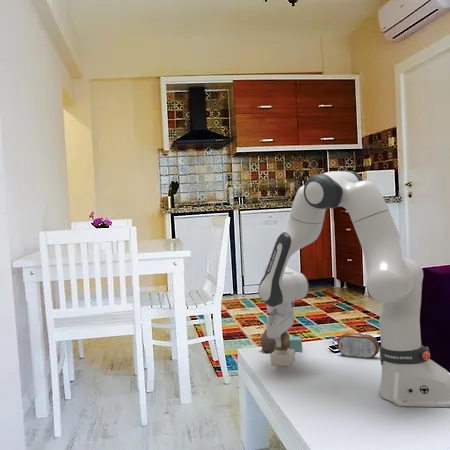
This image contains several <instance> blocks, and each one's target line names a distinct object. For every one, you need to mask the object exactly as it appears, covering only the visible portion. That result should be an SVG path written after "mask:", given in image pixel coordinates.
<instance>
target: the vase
mask: <svg viewBox="0 0 450 450" xmlns="http://www.w3.org/2000/svg"><path fill="white" fill-rule="evenodd" d="M259 342H260V346H261V349H262V351H264V352H265V353H272V352H274V351H275V350H274V340H273V339H272V338H268V337H267V328H265V329H264V332H263V333H262V335H261V337H260V341H259Z"/></svg>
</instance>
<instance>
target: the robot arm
mask: <svg viewBox="0 0 450 450" xmlns="http://www.w3.org/2000/svg"><path fill="white" fill-rule="evenodd" d="M339 207H341V208H344V209H345V210H346V211H347V212H348V216H350V217H349V218H350V220H351V222H352V225H353V227H354V230H355V233H356V235H357V238H358V240H359V243H360V246H361V250H362V253H363V258H364V264H365V269H366V274H367V278H366V289H367V292H368V294H369V295H370V297H371V298H372V299H374V300H375V301H376V302H379V303H382V306H381V313H380V316H379V321H378V323H379V334H380V335H379V336H380V344H379V346H380V349H379V359H380V365H381V378H380V385H379V390H378V395H379V396H380V397H381V398H382V399H385V400H386V401H390V402H391V403H393V404H395V405H396V406H398V407H419V408H420V407H421V408H422V407H425V408H426V407H429V408H431V407H432V408H433V407H434V408H441V407H443V408H450V372H449V371H448V370H447V369H446V368H444V367H443V366H441V365H440V364H438V363H437V362H435V361H434V360H432V359H430V358H431V352H430V349H429V347H428V346H424V345H423V344H422V340H421V339H422V337H421V323H420V322H421V321H420V319H421V307H422V306H421V305H422V291H423V279H424V270H423V268H422V265H420V263H418V262H417V261H416V260H415V259H411V258H406V257H403V255H402V250H401V249H402V248H401V244H400V236H401V235H400V233H399V231H398V228H397V225H396V223H395V221H394V220H395V219H394V218H393V216H392V213H391V211H390V208H389V207H388V205H387V202H386V200H385V198H384V196H383V194H382V193H381V191H380V189H379V188H378V187H377V185H376V184H375V183H374V182H373V181H370V180H364V179H363V177H362V176H361V175H360V173H357V172H355V171H353V170H347V169H346V170H341V171H340V170H337V171H336V170H335V171H334V170H333V171H327V172H324V173H323V172H322V173H318V174H314V175H313V176H311V177H310V178H308V179H307V181H306V182H305V183H304V185H302V186H300V187H299V188H298V189H297V191H296V193H295V195H294V200H293V202H292V205H291V210H290V213H289V218H288V221H287V223H286V226H285V227H284V229H283V231H282V232H281V233H280V235H278V236H277V238H276V241H275V243H274V246H273V249H272V252H271V256H270V258H269V261H268V264H267V265H266V266H265V267H264V275H263V277H262V278H261V280H260V283H259V285H258V296H259V299H260V300H261V301H262V302H263V303H264V304H265V305H266V313H268V314H269V315H267V317H266V323H265V325H266V329H267V337H268V338H272V339H275V341H276V346H277V347H281V346H282V341H281V334H283V333H287V334H289V329H290V328H291V327H293V326H294V322H295V319H294V318H295V317H294V316H295V315H294V313H295V312H294V307H295V301H298V300H302V299H304V298H306V297H307V295H308V294H309V292H310V283H309V280H308V278H307V277H306V276H305V274H304V273H302V272H298V271H296V270H294V269H292V268H290V267H289V266H288V262H289V260H290V259H291V257H292V256H293V255H294V254H295V253H297V252H298V251H299V250H301V249H303V248H305V247H306V246H309V245H311V244H312V243H314V242H315V241H316V240H318V238H319V236H320V234H321V232H322V229H323V225H324V220H325V215H326V210H328V209H337V208H339Z"/></svg>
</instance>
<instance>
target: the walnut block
mask: <svg viewBox="0 0 450 450" xmlns="http://www.w3.org/2000/svg"><path fill="white" fill-rule="evenodd" d="M289 337H290V333H288V334H287V333H283V334H281V341H282V346H281V347H277V346H276V341H275V339H273V340H274V350H283V351H286V350H287V349H289V348H290V340H289Z"/></svg>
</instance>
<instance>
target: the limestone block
mask: <svg viewBox="0 0 450 450" xmlns="http://www.w3.org/2000/svg"><path fill="white" fill-rule="evenodd" d="M269 354H270V355H269V356H270V357H269V358H270V366H277V367H291V366H292V364H294V362H295V361H296V353H295V350H294V349H287V350H286V351H283V350H275V351H274V352H270V353H269Z"/></svg>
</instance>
